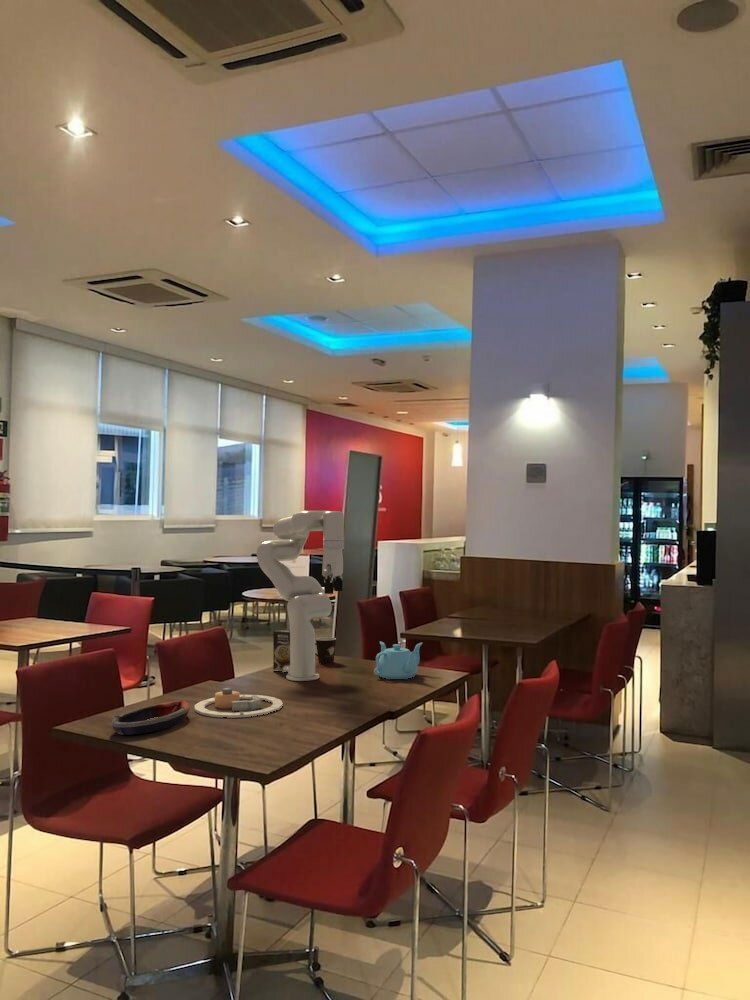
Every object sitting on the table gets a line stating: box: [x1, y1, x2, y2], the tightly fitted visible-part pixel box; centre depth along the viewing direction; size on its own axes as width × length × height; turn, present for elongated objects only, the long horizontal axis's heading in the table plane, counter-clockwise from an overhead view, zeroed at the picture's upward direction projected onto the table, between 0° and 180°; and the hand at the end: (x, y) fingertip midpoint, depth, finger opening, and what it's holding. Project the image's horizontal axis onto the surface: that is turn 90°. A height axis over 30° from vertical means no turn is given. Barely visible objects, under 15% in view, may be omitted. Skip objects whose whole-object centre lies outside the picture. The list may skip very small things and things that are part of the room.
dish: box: [110, 699, 190, 736], centre depth 244 cm, size 16×31×5 cm, turn 152°
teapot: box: [373, 641, 423, 680], centre depth 314 cm, size 17×19×12 cm
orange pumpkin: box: [214, 687, 241, 709], centre depth 268 cm, size 8×8×6 cm
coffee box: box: [272, 629, 290, 672], centre depth 326 cm, size 9×6×16 cm
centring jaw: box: [231, 694, 262, 713], centre depth 263 cm, size 6×12×3 cm, turn 148°
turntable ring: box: [194, 694, 284, 719], centre depth 265 cm, size 28×28×1 cm
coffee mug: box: [315, 636, 337, 665], centre depth 343 cm, size 12×9×10 cm
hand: (333, 592), depth 296 cm, fingers open, 9 cm apart
